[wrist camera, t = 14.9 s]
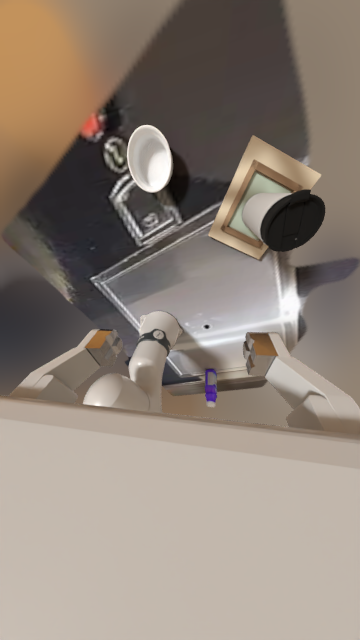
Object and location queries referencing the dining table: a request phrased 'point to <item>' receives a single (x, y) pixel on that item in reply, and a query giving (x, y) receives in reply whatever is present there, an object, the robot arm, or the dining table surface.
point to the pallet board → (257, 177)
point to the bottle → (210, 387)
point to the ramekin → (149, 159)
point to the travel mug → (284, 218)
